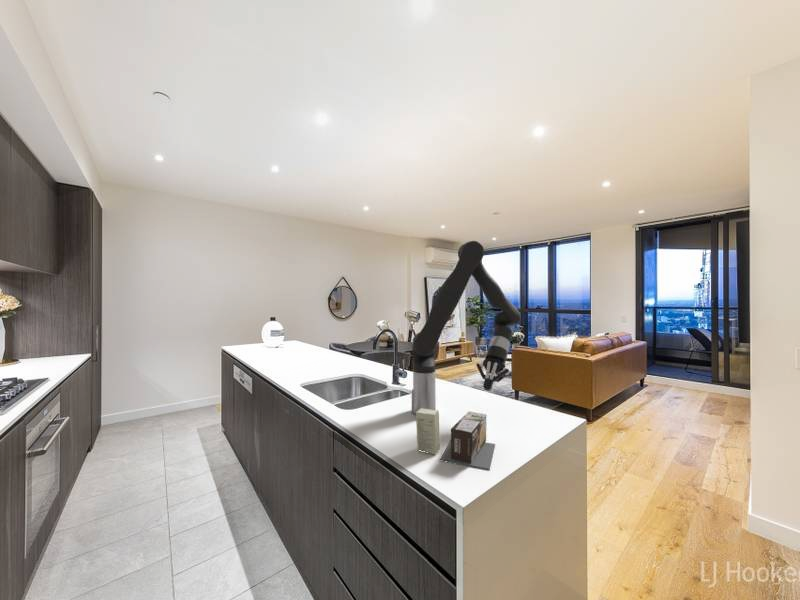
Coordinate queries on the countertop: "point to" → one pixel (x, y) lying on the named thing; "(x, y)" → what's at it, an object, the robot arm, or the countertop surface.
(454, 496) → the countertop surface
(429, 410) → the skincare box
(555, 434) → the countertop surface
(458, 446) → the coffee box
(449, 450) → the mat
